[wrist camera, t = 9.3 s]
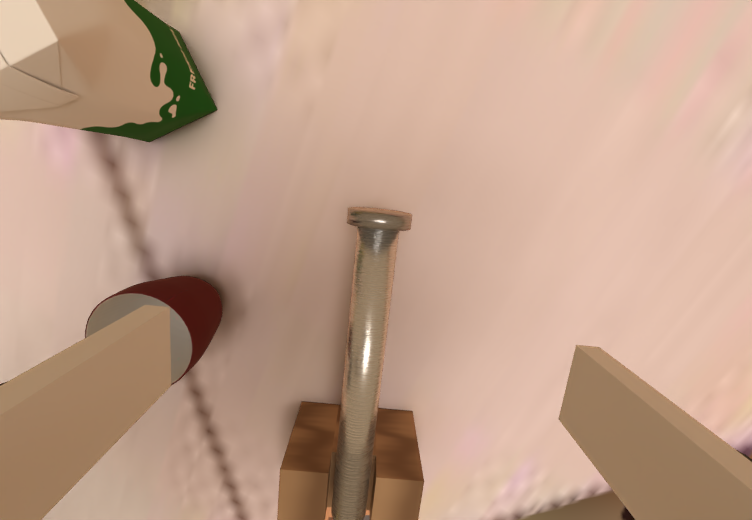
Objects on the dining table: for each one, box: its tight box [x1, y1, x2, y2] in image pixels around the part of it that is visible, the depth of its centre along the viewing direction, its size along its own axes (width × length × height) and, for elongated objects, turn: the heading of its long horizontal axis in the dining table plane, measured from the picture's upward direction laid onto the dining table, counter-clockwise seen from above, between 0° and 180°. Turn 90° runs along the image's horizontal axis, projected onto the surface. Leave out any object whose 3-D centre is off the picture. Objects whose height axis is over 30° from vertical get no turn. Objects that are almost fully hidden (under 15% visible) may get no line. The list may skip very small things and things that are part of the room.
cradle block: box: [277, 402, 424, 520], centre depth 36 cm, size 12×6×10 cm, turn 84°
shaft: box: [331, 207, 412, 520], centre depth 29 cm, size 26×5×5 cm, turn 175°
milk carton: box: [0, 0, 217, 142], centre depth 23 cm, size 9×9×20 cm
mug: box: [85, 276, 222, 385], centre depth 33 cm, size 11×8×10 cm
